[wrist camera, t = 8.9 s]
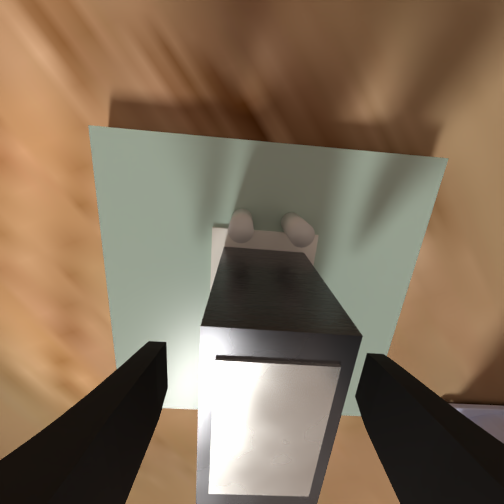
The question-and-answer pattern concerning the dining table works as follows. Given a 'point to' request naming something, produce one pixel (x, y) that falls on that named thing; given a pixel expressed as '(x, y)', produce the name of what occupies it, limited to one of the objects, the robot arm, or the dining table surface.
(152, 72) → the dining table surface
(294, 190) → the pin tray
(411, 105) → the dining table surface
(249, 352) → the block
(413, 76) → the dining table surface
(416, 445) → the robot arm
